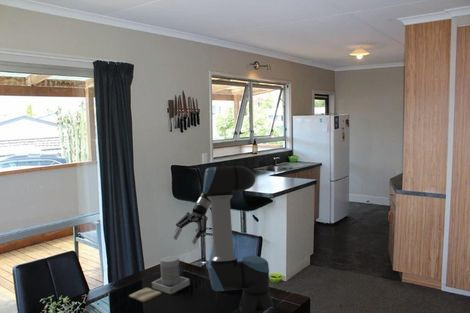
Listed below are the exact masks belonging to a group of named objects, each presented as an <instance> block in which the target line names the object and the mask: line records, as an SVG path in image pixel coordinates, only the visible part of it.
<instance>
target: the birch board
mask: <svg viewBox="0 0 470 313" xmlns="http://www.w3.org/2000/svg"><path fill="white" fill-rule="evenodd" d="M160 295H162V291H159V290H156V289H154V288H150V287H143V288H142V289H139V290H137V291H135V292H133V293H131V294H129V295H128V297H129V298H130V299H131V298H132V299H133V300H136V301H138V302H141V303H146V302H148V301H150V300H152V299H154V298H156V297H158V296H160Z"/></svg>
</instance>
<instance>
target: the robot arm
mask: <svg viewBox="0 0 470 313" xmlns="http://www.w3.org/2000/svg"><path fill="white" fill-rule="evenodd" d="M255 182H256V175H255V173H254V172H253V170H252V169H250V168H248V167H245V166H242V165H235V166H233V165H232V166H214V167H213V166H212V167H207V168H206V169H205V171H204V176H203V184H202V185H203V188H202V191H201V194H200V195H199V197H198V199H197V200H196V202H195V204H194V205H193V206H194V207H193V208H192V212H189V211H187V212H186V213H185V215H184V216H183V217H182V218H181V219H179V221H177V222H176V223H175V226H176V229H175V231H174V234H173V236H172V238H173V239H174V240H175V241H177V240H178V238H179V236H180V234H181V233H182V230H183V228H185V227H186V226H188V225H189V224H190V223H196V224H197V229H198V230H196V232H195V234H194V236H193V237H192V240H191V243H192V244H193V245H196V243H197V241H198V240H199V239H200V237H201V236H202V234H203V233H204V234H205V233H207V223H208V222H207V221H208V218H209V217H208V216H207V215H206V213H207V212H208V210H209V208H210V207H211V208H210V210H211V226H212V227H211V228H212V240H213V242H212V245H213V256H212V258H211V259H210V263H208V264H207V271H208V276H209V277H208V278H209V281H210V286H211V289H212V290H213V291H215V292H225V291H233V290H235V291H236V290H242V294H241V297H240V301H239V311H240V313H263V312H264V311H265V310H267V309H268V308H270V307H273V308H274V303H273V299H272V296H271V294H270V267H269V262H268V261H267V259H266V258H264V257H261V256H257V255H245V256H243V257H242V259H241V261H238V257H237V256H236V255H235V254H234V244H233V230H232V229H233V226H232V214H231V213H232V212H231V199H232V197H233V196H234V193H235V192H242V191H246V190H249V189H251V188H253V187H254V185H255Z"/></svg>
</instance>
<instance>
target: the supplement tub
mask: <svg viewBox="0 0 470 313" xmlns="http://www.w3.org/2000/svg"><path fill="white" fill-rule="evenodd" d="M159 263H160V278H161V283H162V284H161V285H164V286H167V287H170V288H171V287H173V286H175V285H177V284H179V283H180V276H181V272H180V268H181V267H180V259H179V257H178V256H176V255H167V256H163V257H161V258H160V262H159Z"/></svg>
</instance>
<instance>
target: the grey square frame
mask: <svg viewBox="0 0 470 313" xmlns="http://www.w3.org/2000/svg"><path fill="white" fill-rule="evenodd" d="M190 280H191V279H190V278H187V277H184V276H181V275H180V283H179V284H177V285H175V286H173V287H171V288H170V287H167V286H164V285H162V283H161V277H160V278H158V279H156V280H154V281H151V289H153V290H156V291H159V292H161V293H162V292H163V293H165V294H169V295H172V294H174V293H176V292H179V291H180V290H182V289H184V288H186V287H189V286H190V285H191V282H190Z"/></svg>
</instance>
